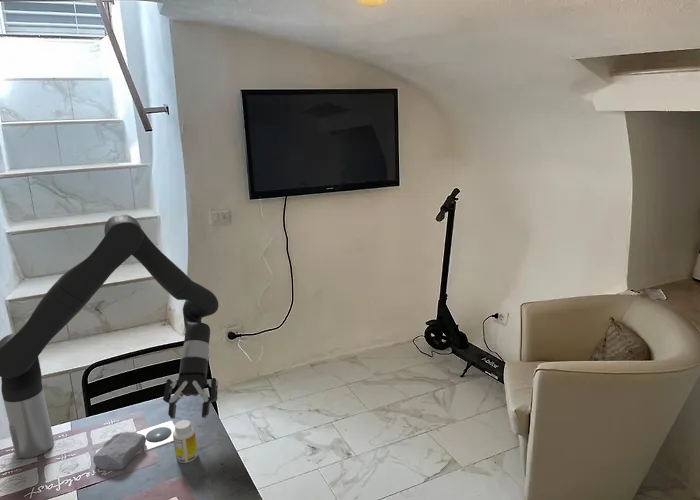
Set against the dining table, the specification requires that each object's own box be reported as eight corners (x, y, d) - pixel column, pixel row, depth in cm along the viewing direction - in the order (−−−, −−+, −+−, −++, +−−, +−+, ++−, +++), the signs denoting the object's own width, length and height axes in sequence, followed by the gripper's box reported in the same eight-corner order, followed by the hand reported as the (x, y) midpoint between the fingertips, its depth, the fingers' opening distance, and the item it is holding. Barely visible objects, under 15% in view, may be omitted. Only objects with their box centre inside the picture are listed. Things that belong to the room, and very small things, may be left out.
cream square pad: (144, 451, 145) (144, 450, 145) (136, 432, 154) (136, 431, 153) (181, 438, 151) (181, 437, 150) (171, 421, 159) (171, 420, 159)
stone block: (92, 474, 140) (124, 471, 137) (86, 458, 139) (118, 455, 136) (120, 446, 151) (150, 443, 148) (114, 431, 150) (145, 428, 147)
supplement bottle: (198, 449, 146) (194, 416, 143) (196, 462, 140) (192, 429, 138) (177, 451, 145) (173, 419, 142) (174, 465, 140) (170, 431, 137)
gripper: (165, 356, 149) (157, 415, 141) (216, 354, 149) (211, 414, 141) (173, 363, 155) (166, 421, 148) (222, 362, 155) (217, 419, 148)
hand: (188, 417), depth 144 cm, fingers open, 8 cm apart
